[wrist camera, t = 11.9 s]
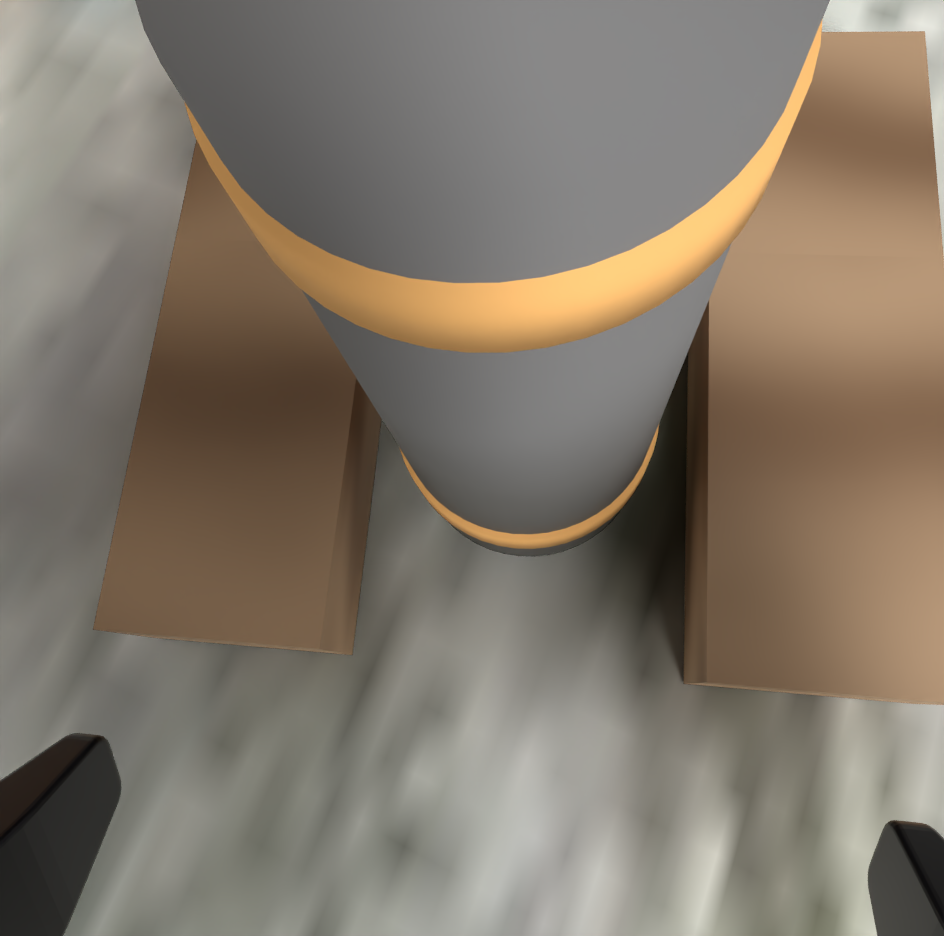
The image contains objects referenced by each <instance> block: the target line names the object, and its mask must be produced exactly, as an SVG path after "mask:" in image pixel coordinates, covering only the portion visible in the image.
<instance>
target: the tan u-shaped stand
mask: <svg viewBox="0 0 944 936" xmlns="http://www.w3.org/2000/svg"><path fill="white" fill-rule="evenodd" d="M380 427H381V417H380V415H379V414H378V412H377V411H376V409H375V407H374V406H373V404H372V402H371V401H370V399H369V398H368V396H367V394H366V393H365V391H364V390H363V388H362V386H361V385H360V383H359V382H358V380H357V378H356V377H355V375H354V373H353V372H352V370H351V369H350V367H349V365H348V364H347V362H346V361H345V359H344V357H343V356H342V354H341V353H340V351H339V349H338V348H337V346H336V344H335V343H334V341H333V340H332V338H331V336H330V335H329V333H328V332H327V330H326V328H325V327H324V325H323V324H322V322H321V320H320V319H319V317H318V316H317V314H316V312H315V311H314V309H313V307H312V306H311V304H310V303H309V301H308V299H307V298H306V296H305V295H304V293H303V291H302V290H301V289H300V288H299V287H298V286H297V285H296V284H295V283H294V282H293V281H292V280H291V279H290V278H289V277H288V276H287V275H286V274H285V273H284V272H283V271H282V270H281V269H280V268H279V267H278V266H277V265H276V264H275V263H274V262H273V260H272V259H271V257H270V256H269V255H268V253H267V252H266V250H265V249H264V248H263V246H262V245H261V243H260V242H259V241H258V239H257V238H256V236H255V235H254V233H253V232H252V230H251V229H250V227H249V226H248V224H247V223H246V221H245V220H244V218H243V216H242V215H241V213H240V212H239V210H238V209H237V207H236V206H235V204H234V203H233V201H232V199H231V198H230V196H229V195H228V193H227V192H226V190H225V189H224V187H223V186H222V184H221V183H220V181H219V179H218V178H217V176H216V175H215V173H214V172H213V170H212V169H211V167H210V165H209V163H208V161H207V159H206V157H205V155H204V153H203V151H202V149H201V147H200V145H199V143H198V141H197V139H196V144H195V149H194V154H193V158H192V163H191V168H190V172H189V177H188V182H187V187H186V191H185V196H184V201H183V206H182V210H181V215H180V220H179V224H178V229H177V234H176V239H175V243H174V248H173V253H172V258H171V262H170V267H169V272H168V277H167V281H166V286H165V291H164V295H163V300H162V305H161V310H160V314H159V319H158V324H157V329H156V333H155V338H154V343H153V348H152V352H151V357H150V362H149V366H148V371H147V376H146V381H145V385H144V390H143V395H142V400H141V404H140V409H139V414H138V418H137V423H136V428H135V433H134V437H133V442H132V447H131V452H130V456H129V461H128V466H127V471H126V475H125V480H124V485H123V489H122V494H121V499H120V504H119V508H118V513H117V518H116V523H115V527H114V532H113V537H112V542H111V546H110V551H109V556H108V560H107V565H106V570H105V575H104V579H103V584H102V589H101V594H100V598H99V603H98V608H97V612H96V617H95V622H94V627H93V630H101V631H108V632H115V633H123V634H130V635H138V636H145V637H152V638H162V639H173V640H185V641H197V642H208V643H220V644H231V645H243V646H254V647H266V648H277V649H289V650H300V651H312V652H323V653H335V654H346V655H352V654H353V646H354V638H355V630H356V622H357V613H358V605H359V597H360V589H361V581H362V573H363V565H364V557H365V549H366V541H367V533H368V524H369V516H370V508H371V500H372V492H373V484H374V476H375V468H376V460H377V452H378V444H379V436H380ZM684 684H692V685H704V686H715V687H727V688H739V689H750V690H762V691H773V692H785V693H796V694H808V695H819V696H831V697H842V698H854V699H865V700H877V701H888V702H900V703H912V704H936V705H944V258H943V246H942V234H941V222H940V210H939V198H938V186H937V174H936V161H935V149H934V137H933V125H932V113H931V101H930V89H929V77H928V65H927V53H926V41H925V31H919V32H821V45H820V49H819V53H818V57H817V61H816V66H815V70H814V74H813V78H812V82H811V84H810V86H809V89H808V91H807V94H806V96H805V98H804V101H803V103H802V105H801V108H800V110H799V112H798V115H797V117H796V120H795V122H794V124H793V127H792V129H791V131H790V134H789V136H788V138H787V141H786V143H785V145H784V148H783V150H782V152H781V155H780V157H779V159H778V162H777V164H776V166H775V169H774V171H773V173H772V176H771V178H770V180H769V183H768V185H767V187H766V190H765V192H764V194H763V197H762V199H761V200H760V202H759V204H758V205H757V207H756V209H755V210H754V212H753V214H752V215H751V217H750V218H749V220H748V222H747V223H746V225H745V227H744V228H743V230H742V231H741V232H740V233H739V234H738V236H737V237H736V238H735V239H734V240H733V242H732V244H731V246H730V249H729V251H728V254H727V256H726V259H725V261H724V264H723V266H722V269H721V271H720V274H719V276H718V278H717V281H716V283H715V286H714V288H713V291H712V293H711V296H710V298H709V301H708V303H707V306H706V308H705V311H704V313H703V316H702V318H701V321H700V323H699V326H698V328H697V331H696V333H695V336H694V338H693V340H692V343H691V345H690V348H689V350H688V402H687V474H686V546H685V619H684Z"/></svg>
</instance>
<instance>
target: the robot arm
mask: <svg viewBox="0 0 944 936" xmlns="http://www.w3.org/2000/svg"><path fill="white" fill-rule="evenodd" d="M120 794H121V779H120V776H119V773H118V769H117V766H116V763H115V760H114V757H113V754H112V751H111V748H110V744H109V742H108V740H107V739H106V738H104V737H103V736H100V735H91V734H82V733H74V734H70V735H68V736H66V737H64V738H62V739H61V740H59V741H58V742H56V743H55V744H53V745H52V746H50V747H49V748H47V749H46V750H45V751H43V752H42V753H40V754H39V755H37V756H36V757H34V758H33V759H31V760H30V761H28V762H27V763H25V764H24V765H22V766H21V767H19V768H18V769H17V770H15V771H14V772H12V773H11V774H9V775H8V776H6V777H5V778H3V779H2V780H0V936H63V934H64V932H65V930H66V928H67V926H68V924H69V921H70V919H71V917H72V915H73V912H74V910H75V908H76V905H77V903H78V900H79V898H80V895H81V893H82V890H83V888H84V886H85V883H86V881H87V878H88V876H89V873H90V871H91V868H92V866H93V863H94V861H95V858H96V856H97V854H98V851H99V849H100V846H101V844H102V841H103V839H104V836H105V834H106V831H107V829H108V826H109V824H110V822H111V819H112V817H113V814H114V812H115V809H116V807H117V804H118V801H119V798H120ZM868 888H869V894H870V899H871V904H872V909H873V915H874V920H875V925H876V930H877V936H944V838H943V837H942V836H941V835H940V834H939V833H938V832H937V831H936V830H935V829H933V828H932V827H930V826H929V825H927V824H923V823H916V822H906V821H897V820H893V821H890V822H888V823H887V824H886V825H885V827H884V828H883V831H882V833H881V836H880V839H879V841H878V844H877V846H876V849H875V852H874V854H873V857H872V860H871V862H870V865H869V870H868Z"/></svg>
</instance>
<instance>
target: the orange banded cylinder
mask: <svg viewBox="0 0 944 936" xmlns="http://www.w3.org/2000/svg"><path fill="white" fill-rule="evenodd" d="M135 1H136V4H137V7H138V11H139V14H140V17H141V21H142V24H143V27H144V31H145V33H146V34H147V37H148V38H149V40H150V42H151V44H152V46H153V48H154V50H155V52H156V54H157V56H158V58H159V60H160V62H161V64H162V66H163V67H164V69H165V71H166V72H167V74H168V76H169V77H170V79H171V80H172V82H173V84H174V85H175V87H176V88H177V90H178V92H179V93H180V95H181V96H182V98H183V100H184V102H185V106H186V109H187V112H188V116H189V119H190V122H191V125H192V129H193V132H194V135H195V137H196V139H197V141H198V143H199V145H200V147H201V149H202V151H203V153H204V155H205V157H206V159H207V161H208V163H209V165H210V167H211V169H212V170H213V172H214V173H215V175H216V176H217V178H218V179H219V181H220V183H221V184H222V186H223V187H224V189H225V190H226V192H227V193H228V195H229V196H230V198H231V199H232V201H233V203H234V204H235V206H236V207H237V209H238V210H239V212H240V213H241V215H242V216H243V218H244V220H245V221H246V223H247V224H248V226H249V227H250V229H251V230H252V232H253V233H254V235H255V236H256V238H257V239H258V241H259V242H260V243H261V245H262V246H263V248H264V249H265V250H266V252H267V253H268V255H269V256H270V257H271V259H272V260H273V262H274V263H275V264H276V265H277V266H278V267H279V268H280V269H281V270H282V271H283V272H284V273H285V274H286V275H287V276H288V277H289V278H290V279H291V280H292V281H293V282H294V283H295V284H296V285H297V286H298V287H299V288H300V289H301V290H302V291H303V293H304V295H305V296H306V298H307V299H308V301H309V303H310V304H311V306H312V307H313V309H314V311H315V312H316V314H317V316H318V317H319V319H320V320H321V322H322V324H323V325H324V327H325V328H326V330H327V332H328V333H329V335H330V336H331V338H332V340H333V341H334V343H335V344H336V346H337V348H338V349H339V351H340V353H341V354H342V356H343V357H344V359H345V361H346V362H347V364H348V365H349V367H350V369H351V370H352V372H353V373H354V375H355V377H356V378H357V380H358V382H359V383H360V385H361V386H362V388H363V390H364V391H365V393H366V394H367V396H368V398H369V399H370V401H371V402H372V404H373V406H374V407H375V409H376V411H377V412H378V414H379V415H380V417H381V419H382V420H383V422H384V423H385V425H386V427H387V428H388V430H389V431H390V433H391V435H392V436H393V438H394V440H395V441H396V443H397V444H398V446H399V448H400V451H401V454H402V457H403V459H404V462H405V465H406V467H407V469H408V470H409V472H410V474H411V476H412V478H413V480H414V481H415V483H416V484H417V486H418V488H419V489H420V491H421V492H422V493H423V495H424V496H425V498H426V499H427V501H428V502H429V503H430V505H431V506H432V507H433V508H434V509H435V510H436V511H437V512H438V513H439V514H440V515H441V516H442V517H443V518H444V519H446V520H447V521H448V522H449V523H450V524H451V525H452V526H453V527H454V528H455V529H456V530H458V531H459V532H460V533H461V534H462V535H464V536H465V537H467V538H468V539H470V540H472V541H473V542H475V543H477V544H479V545H481V546H483V547H486V548H488V549H490V550H494V551H497V552H500V553H504V554H510V555H516V556H542V555H550V554H554V553H558V552H562V551H565V550H568V549H571V548H573V547H576V546H578V545H580V544H582V543H584V542H586V541H587V540H589V539H591V538H592V537H594V536H595V535H596V534H598V533H599V532H601V531H602V530H603V529H604V528H605V527H606V526H607V525H608V524H609V523H610V522H611V521H612V520H613V519H614V518H615V517H616V516H617V514H618V513H619V512H620V511H621V509H622V508H623V506H624V505H625V504H626V503H627V501H628V500H629V499H630V498H631V496H632V495H633V493H634V492H635V490H636V488H637V487H638V485H639V483H640V482H641V480H642V477H643V475H644V473H645V470H646V468H647V466H648V463H649V461H650V459H651V456H652V454H653V451H654V447H655V444H656V440H657V436H658V428H659V422H660V420H661V417H662V415H663V412H664V410H665V407H666V405H667V402H668V400H669V397H670V395H671V393H672V390H673V388H674V385H675V383H676V380H677V378H678V375H679V373H680V370H681V368H682V365H683V363H684V360H685V358H686V355H687V353H688V350H689V348H690V345H691V343H692V340H693V338H694V336H695V333H696V331H697V328H698V326H699V323H700V321H701V318H702V316H703V313H704V311H705V308H706V306H707V303H708V301H709V298H710V296H711V293H712V291H713V288H714V286H715V283H716V281H717V278H718V276H719V274H720V271H721V269H722V266H723V264H724V261H725V259H726V256H727V254H728V251H729V249H730V246H731V244H732V242H733V240H734V239H735V238H736V237H737V236H738V234H739V233H740V232H741V231H742V230H743V228H744V227H745V225H746V223H747V222H748V220H749V218H750V217H751V215H752V214H753V212H754V210H755V209H756V207H757V205H758V204H759V202H760V200H761V199H762V197H763V194H764V192H765V190H766V187H767V185H768V183H769V180H770V178H771V176H772V173H773V171H774V169H775V166H776V164H777V162H778V159H779V157H780V155H781V152H782V150H783V148H784V145H785V143H786V141H787V138H788V136H789V134H790V131H791V129H792V127H793V124H794V122H795V120H796V117H797V115H798V112H799V110H800V108H801V105H802V103H803V101H804V98H805V96H806V94H807V91H808V89H809V86H810V84H811V82H812V78H813V74H814V70H815V66H816V61H817V57H818V53H819V49H820V45H821V31H822V18H823V16H824V13H825V11H826V8H827V6H828V3H829V1H830V0H135Z"/></svg>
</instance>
